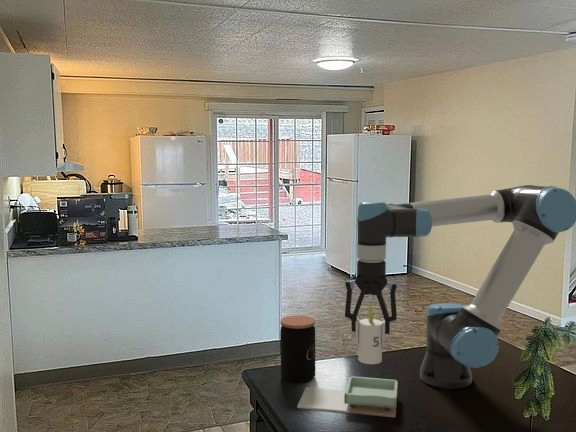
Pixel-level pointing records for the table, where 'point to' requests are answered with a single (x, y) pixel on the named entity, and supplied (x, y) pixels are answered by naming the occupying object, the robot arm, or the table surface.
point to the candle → (370, 340)
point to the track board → (337, 403)
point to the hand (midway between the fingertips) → (370, 344)
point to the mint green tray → (371, 392)
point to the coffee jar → (297, 349)
